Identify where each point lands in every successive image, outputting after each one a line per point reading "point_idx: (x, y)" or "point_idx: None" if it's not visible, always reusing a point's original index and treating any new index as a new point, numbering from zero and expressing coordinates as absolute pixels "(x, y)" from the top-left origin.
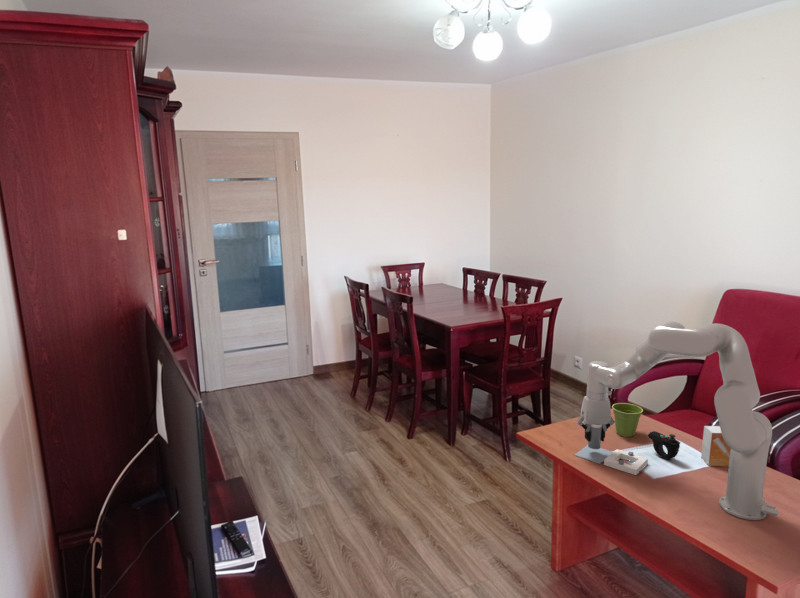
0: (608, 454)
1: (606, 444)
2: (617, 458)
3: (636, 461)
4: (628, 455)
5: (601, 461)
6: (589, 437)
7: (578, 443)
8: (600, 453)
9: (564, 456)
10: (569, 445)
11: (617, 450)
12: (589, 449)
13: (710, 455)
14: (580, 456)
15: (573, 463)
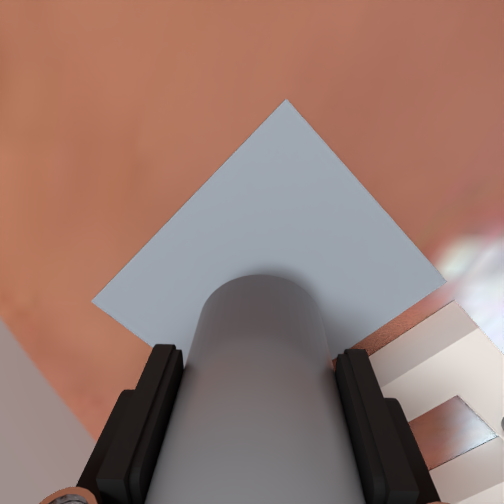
0: (375, 318)
1: (496, 98)
2: None
3: (484, 493)
4: (495, 427)
5: None
6: None
7: (189, 47)
8: (316, 298)
9: (13, 303)
10: (78, 95)
11: (466, 350)
12: (250, 221)
13: None
14: (133, 329)
15: (69, 392)
